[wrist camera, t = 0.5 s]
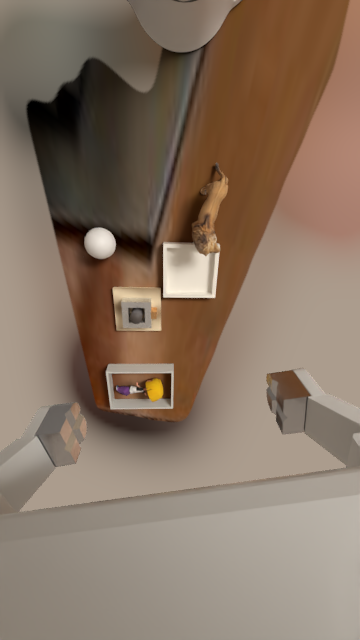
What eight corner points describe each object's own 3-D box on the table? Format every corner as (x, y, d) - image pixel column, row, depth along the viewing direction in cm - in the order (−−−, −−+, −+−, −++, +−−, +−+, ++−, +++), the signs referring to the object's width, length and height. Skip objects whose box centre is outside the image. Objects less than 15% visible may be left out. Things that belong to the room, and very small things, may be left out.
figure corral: (108, 364, 63) (105, 371, 60) (173, 363, 64) (173, 371, 61) (112, 400, 69) (110, 409, 66) (172, 400, 69) (172, 408, 67)
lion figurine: (213, 249, 52) (221, 260, 44) (186, 245, 51) (190, 256, 43) (230, 165, 45) (243, 160, 37) (200, 160, 45) (207, 153, 37)
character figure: (125, 385, 71) (167, 383, 69) (121, 407, 67) (166, 406, 65) (113, 372, 64) (159, 369, 62) (108, 396, 60) (157, 394, 59)
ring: (122, 297, 54) (121, 302, 52) (156, 298, 55) (156, 302, 53) (124, 322, 57) (123, 327, 55) (157, 322, 57) (156, 328, 55)
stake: (113, 286, 54) (108, 295, 50) (160, 287, 55) (160, 296, 50) (117, 328, 59) (113, 339, 54) (161, 328, 59) (160, 339, 55)
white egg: (107, 219, 48) (100, 223, 43) (123, 247, 51) (118, 253, 46) (73, 238, 50) (63, 243, 45) (90, 264, 52) (82, 272, 47)
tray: (163, 242, 51) (163, 243, 49) (218, 243, 51) (220, 245, 49) (163, 293, 55) (163, 297, 54) (213, 294, 56) (215, 297, 54)
